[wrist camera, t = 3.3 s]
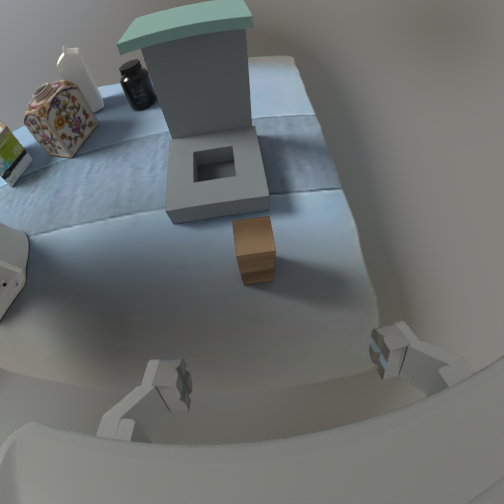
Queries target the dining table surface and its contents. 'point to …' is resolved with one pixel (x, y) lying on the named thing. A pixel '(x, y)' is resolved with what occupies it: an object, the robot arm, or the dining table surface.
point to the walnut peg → (255, 249)
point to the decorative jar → (60, 118)
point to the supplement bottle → (137, 85)
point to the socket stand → (204, 107)
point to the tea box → (12, 156)
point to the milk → (80, 76)
